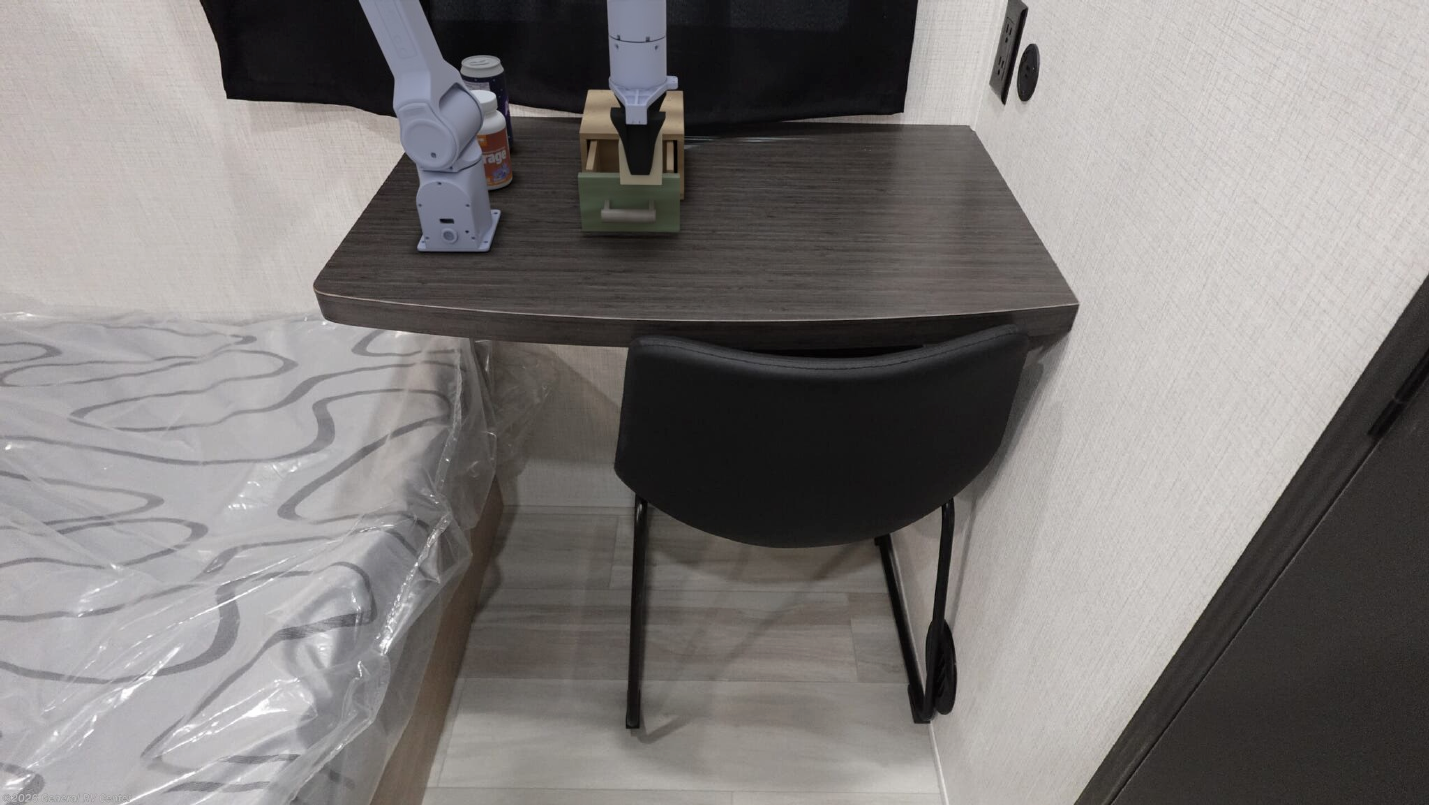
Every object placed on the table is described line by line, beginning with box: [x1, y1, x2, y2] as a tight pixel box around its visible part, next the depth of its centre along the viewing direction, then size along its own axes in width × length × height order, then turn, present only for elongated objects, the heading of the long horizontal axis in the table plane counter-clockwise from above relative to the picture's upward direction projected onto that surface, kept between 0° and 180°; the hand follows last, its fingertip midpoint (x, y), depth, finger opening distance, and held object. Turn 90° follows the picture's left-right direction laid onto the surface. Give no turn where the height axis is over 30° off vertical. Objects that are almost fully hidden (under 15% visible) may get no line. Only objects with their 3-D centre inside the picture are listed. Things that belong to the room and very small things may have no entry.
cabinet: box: [578, 89, 685, 200], centre depth 109 cm, size 15×13×9 cm
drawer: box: [577, 139, 681, 233], centre depth 99 cm, size 18×11×7 cm, turn 2°
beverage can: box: [459, 54, 515, 150], centre depth 113 cm, size 6×6×12 cm
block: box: [619, 129, 662, 185], centre depth 91 cm, size 4×4×4 cm
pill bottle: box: [470, 90, 513, 191], centre depth 105 cm, size 6×6×11 cm
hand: (641, 163), depth 92 cm, fingers closed on block, 4 cm apart
